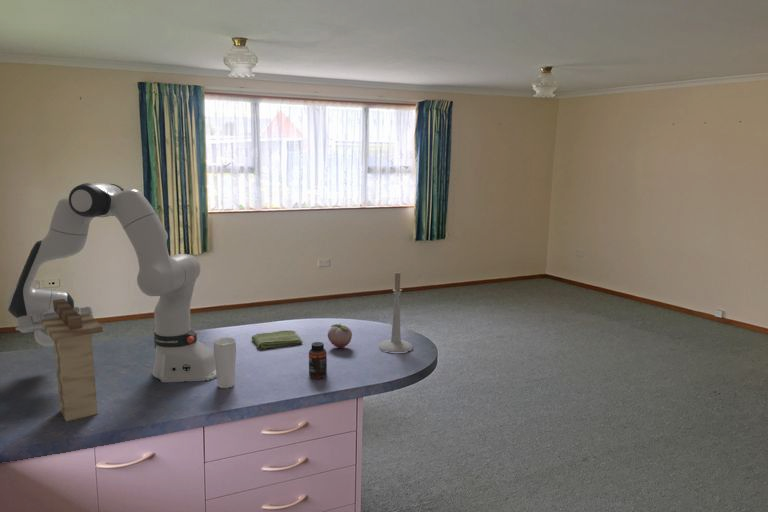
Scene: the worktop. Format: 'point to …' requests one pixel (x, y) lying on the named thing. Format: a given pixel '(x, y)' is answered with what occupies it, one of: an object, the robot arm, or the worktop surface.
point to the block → (67, 314)
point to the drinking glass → (225, 361)
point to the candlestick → (396, 325)
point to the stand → (74, 365)
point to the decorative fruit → (339, 335)
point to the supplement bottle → (317, 361)
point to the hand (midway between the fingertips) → (58, 312)
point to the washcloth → (276, 339)
